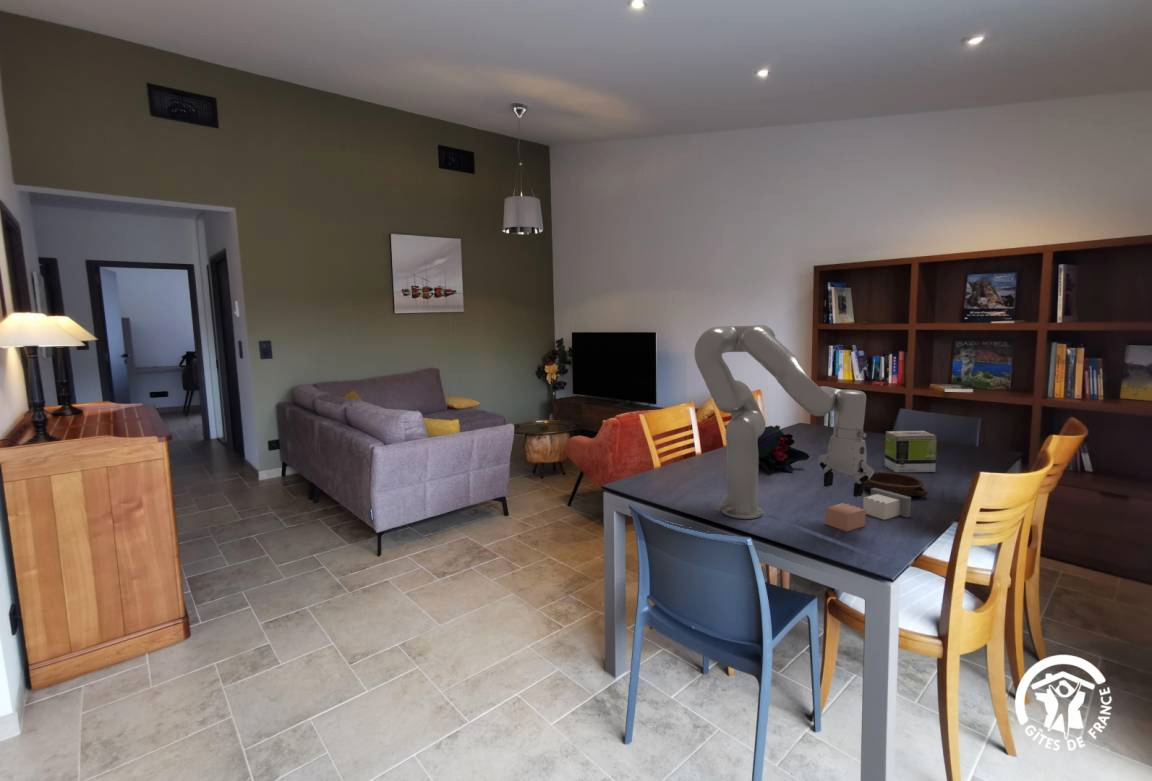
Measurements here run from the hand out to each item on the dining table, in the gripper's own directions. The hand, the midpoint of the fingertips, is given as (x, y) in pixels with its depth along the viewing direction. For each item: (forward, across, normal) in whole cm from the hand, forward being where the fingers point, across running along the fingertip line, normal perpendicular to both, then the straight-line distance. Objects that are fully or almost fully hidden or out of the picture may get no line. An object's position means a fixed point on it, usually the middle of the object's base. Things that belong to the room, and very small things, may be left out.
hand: (842, 490), depth 165 cm
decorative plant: (+13, +53, -33) cm, 64 cm away
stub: (+10, -1, -1) cm, 10 cm away
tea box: (+11, +25, -76) cm, 81 cm away
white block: (+11, -1, -20) cm, 23 cm away
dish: (+11, +12, -44) cm, 47 cm away
